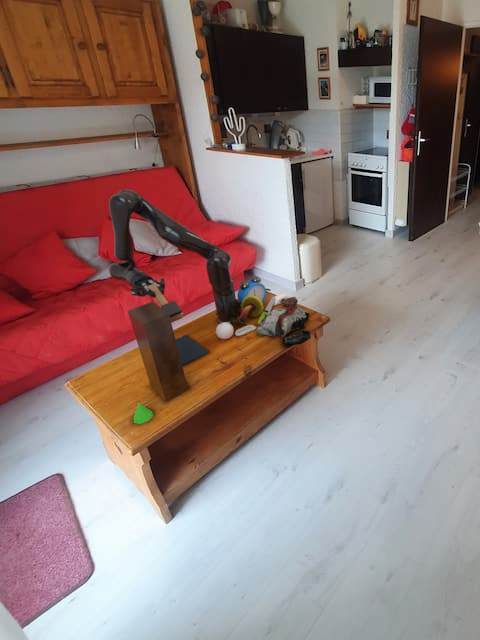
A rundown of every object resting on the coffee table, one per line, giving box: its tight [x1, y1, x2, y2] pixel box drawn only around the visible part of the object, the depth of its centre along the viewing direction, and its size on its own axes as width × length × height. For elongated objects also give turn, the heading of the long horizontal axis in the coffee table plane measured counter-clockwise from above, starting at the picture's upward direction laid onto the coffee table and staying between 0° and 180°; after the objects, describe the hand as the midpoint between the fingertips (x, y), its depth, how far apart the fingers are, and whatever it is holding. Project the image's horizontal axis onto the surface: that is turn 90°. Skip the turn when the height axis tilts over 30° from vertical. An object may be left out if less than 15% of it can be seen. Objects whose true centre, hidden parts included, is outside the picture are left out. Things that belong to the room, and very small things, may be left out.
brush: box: [148, 284, 184, 324], centre depth 146 cm, size 6×18×5 cm, turn 49°
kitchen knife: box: [256, 295, 275, 326], centre depth 183 cm, size 22×1×3 cm
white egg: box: [215, 322, 235, 340], centre depth 164 cm, size 10×7×7 cm
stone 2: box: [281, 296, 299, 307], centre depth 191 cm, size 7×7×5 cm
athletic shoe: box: [275, 305, 310, 338], centre depth 168 cm, size 12×25×12 cm
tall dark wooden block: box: [127, 301, 189, 403], centre depth 130 cm, size 8×12×32 cm, turn 50°
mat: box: [175, 334, 209, 367], centre depth 157 cm, size 12×18×1 cm, turn 50°
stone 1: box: [255, 308, 287, 338], centre depth 175 cm, size 22×3×10 cm
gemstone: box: [133, 403, 154, 425], centre depth 124 cm, size 6×6×6 cm
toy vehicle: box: [272, 292, 292, 307], centre depth 195 cm, size 12×2×4 cm
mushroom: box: [230, 295, 265, 326], centre depth 175 cm, size 12×12×15 cm
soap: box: [234, 324, 258, 337], centre depth 170 cm, size 10×4×1 cm, turn 135°
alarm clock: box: [237, 275, 267, 305], centre depth 187 cm, size 13×6×15 cm, turn 143°
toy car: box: [282, 329, 312, 348], centre depth 162 cm, size 6×12×4 cm, turn 100°
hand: (158, 293), depth 147 cm, fingers closed on brush, 2 cm apart
